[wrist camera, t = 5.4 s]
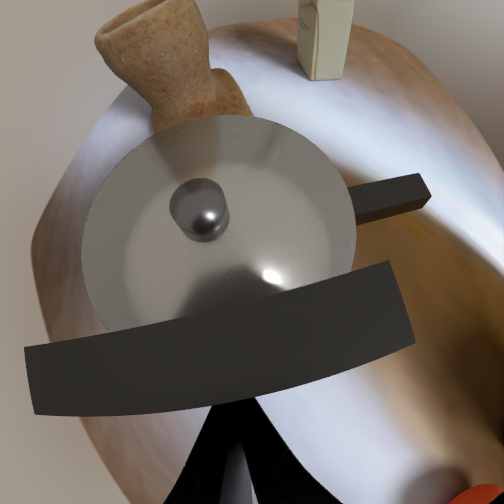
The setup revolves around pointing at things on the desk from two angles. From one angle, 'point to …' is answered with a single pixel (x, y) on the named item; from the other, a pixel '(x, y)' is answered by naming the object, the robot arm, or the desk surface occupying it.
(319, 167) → the lid
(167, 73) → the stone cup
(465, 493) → the clementine
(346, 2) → the skincare box
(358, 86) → the desk surface
